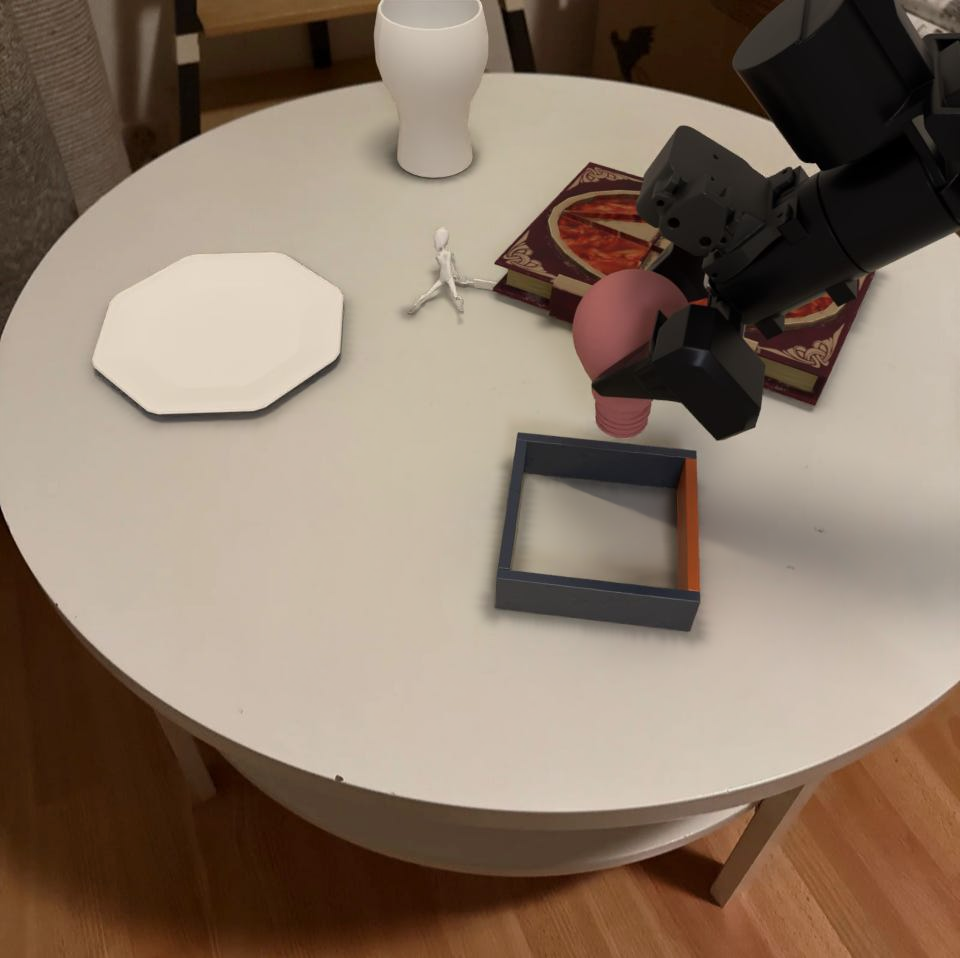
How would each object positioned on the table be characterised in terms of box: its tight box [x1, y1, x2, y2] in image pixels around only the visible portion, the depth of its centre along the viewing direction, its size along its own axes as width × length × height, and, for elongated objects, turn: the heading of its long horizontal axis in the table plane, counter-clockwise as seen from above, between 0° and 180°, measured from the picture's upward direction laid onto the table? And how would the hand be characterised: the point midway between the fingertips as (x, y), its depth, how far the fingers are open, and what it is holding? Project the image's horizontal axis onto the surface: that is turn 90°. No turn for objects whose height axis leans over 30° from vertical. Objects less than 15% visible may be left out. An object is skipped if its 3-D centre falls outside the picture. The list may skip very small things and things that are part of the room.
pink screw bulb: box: [572, 269, 689, 439], centre depth 57 cm, size 7×7×12 cm
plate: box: [91, 251, 345, 417], centre depth 77 cm, size 20×20×2 cm
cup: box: [373, 0, 489, 179], centre depth 89 cm, size 11×11×15 cm
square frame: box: [494, 431, 701, 632], centre depth 62 cm, size 13×13×4 cm
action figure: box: [407, 226, 499, 315], centre depth 79 cm, size 12×5×7 cm
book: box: [492, 161, 877, 407], centre depth 80 cm, size 28×21×5 cm
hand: (607, 348), depth 57 cm, fingers closed on pink screw bulb, 7 cm apart
